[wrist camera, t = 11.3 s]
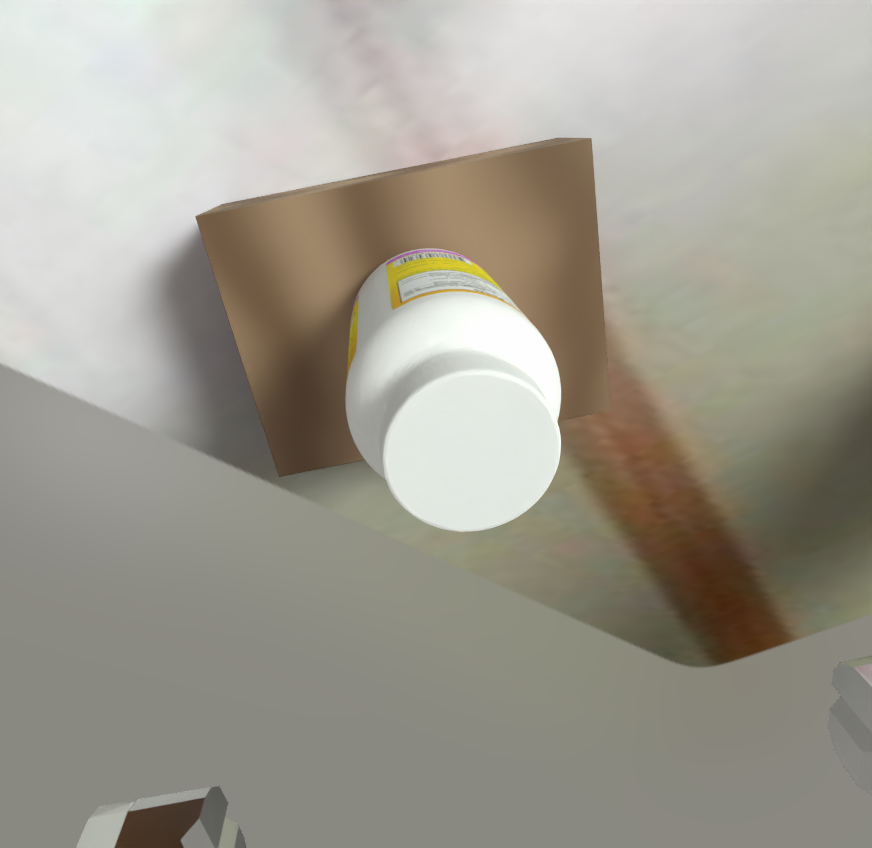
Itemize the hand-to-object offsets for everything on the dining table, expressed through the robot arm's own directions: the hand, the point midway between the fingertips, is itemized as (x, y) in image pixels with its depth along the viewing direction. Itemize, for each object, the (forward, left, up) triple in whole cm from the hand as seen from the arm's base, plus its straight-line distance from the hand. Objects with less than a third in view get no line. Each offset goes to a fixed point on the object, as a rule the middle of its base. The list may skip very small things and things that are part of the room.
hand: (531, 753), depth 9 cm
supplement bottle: (0, 0, -22) cm, 22 cm away
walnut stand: (0, 0, -27) cm, 27 cm away
